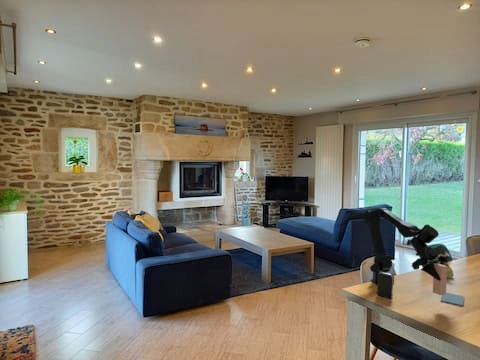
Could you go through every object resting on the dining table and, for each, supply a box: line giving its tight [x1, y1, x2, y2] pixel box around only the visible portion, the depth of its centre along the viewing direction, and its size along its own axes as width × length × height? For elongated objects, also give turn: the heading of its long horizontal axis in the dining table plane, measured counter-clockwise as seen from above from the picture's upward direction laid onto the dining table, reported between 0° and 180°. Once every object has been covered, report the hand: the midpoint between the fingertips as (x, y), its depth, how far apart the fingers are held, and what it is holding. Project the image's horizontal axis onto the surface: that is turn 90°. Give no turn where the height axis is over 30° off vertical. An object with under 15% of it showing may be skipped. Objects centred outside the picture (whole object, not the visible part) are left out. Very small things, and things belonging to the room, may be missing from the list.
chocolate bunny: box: [436, 251, 454, 279], centre depth 190 cm, size 7×11×15 cm, turn 51°
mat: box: [440, 292, 465, 307], centre depth 157 cm, size 13×9×1 cm
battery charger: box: [376, 272, 395, 299], centre depth 159 cm, size 7×4×11 cm, turn 47°
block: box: [432, 264, 448, 296], centre depth 145 cm, size 4×4×12 cm
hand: (442, 279), depth 144 cm, fingers closed on block, 4 cm apart
